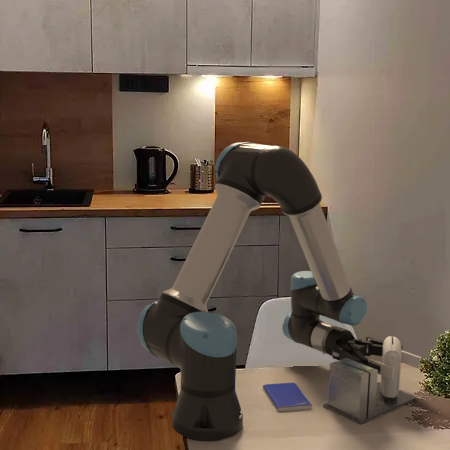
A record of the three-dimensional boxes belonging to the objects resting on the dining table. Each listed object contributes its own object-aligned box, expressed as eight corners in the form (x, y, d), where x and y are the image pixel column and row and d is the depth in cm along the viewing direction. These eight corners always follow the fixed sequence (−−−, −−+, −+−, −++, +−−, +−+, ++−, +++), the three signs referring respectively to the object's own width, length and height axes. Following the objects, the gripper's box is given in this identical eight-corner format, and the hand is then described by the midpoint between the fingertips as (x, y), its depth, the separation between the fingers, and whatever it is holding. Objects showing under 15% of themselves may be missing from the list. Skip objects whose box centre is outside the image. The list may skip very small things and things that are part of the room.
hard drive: (312, 404, 162) (295, 382, 174) (277, 406, 160) (262, 384, 172) (311, 410, 163) (295, 388, 174) (277, 413, 161) (262, 390, 173)
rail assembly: (360, 424, 155) (363, 377, 153) (322, 406, 163) (325, 361, 161) (416, 399, 168) (419, 356, 166) (378, 384, 176) (381, 342, 174)
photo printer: (399, 399, 164) (402, 347, 162) (380, 397, 165) (383, 346, 163) (398, 381, 174) (401, 332, 172) (380, 379, 175) (383, 331, 173)
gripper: (360, 345, 189) (433, 371, 173) (302, 364, 176) (375, 395, 159) (362, 318, 188) (436, 342, 171) (303, 335, 174) (377, 363, 157)
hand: (406, 368), depth 165 cm, fingers closed on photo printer, 9 cm apart
